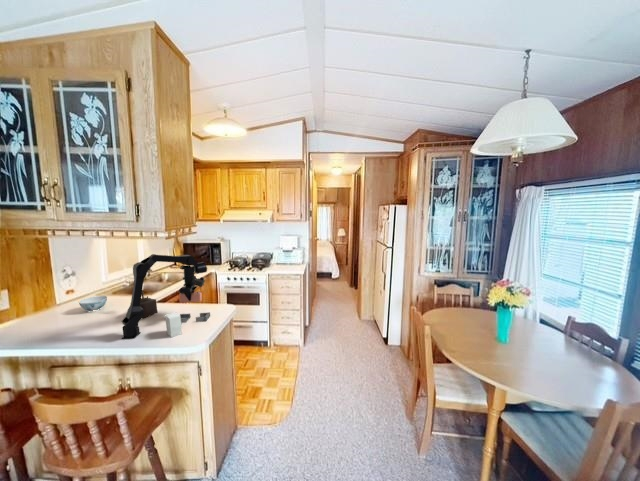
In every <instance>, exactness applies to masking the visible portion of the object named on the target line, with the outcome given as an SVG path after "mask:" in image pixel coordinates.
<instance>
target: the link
mask: <svg viewBox="0 0 640 481" xmlns="http://www.w3.org/2000/svg"><path fill="white" fill-rule="evenodd" d="M178 296H179V297H178V298H179V303H180V304H183V303H200V302H201V301H202V300H203V295H202V292H200V291H195V292H194V293H192V294H191V301H189V300H188V299H187V297H186V296H185V294H184V293H179V295H178Z"/></svg>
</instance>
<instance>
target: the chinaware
mask: <svg viewBox="0 0 640 481" xmlns="http://www.w3.org/2000/svg"><path fill="white" fill-rule="evenodd" d="M107 301H108V296H106V295H98V296H97V295H96V296H91V297H86V298H84V299H80V300H79V301H78V303H79V304H78V305H79V306H80V307H81V308H82V309H83V310H84V311H85V310H86V311H87V312H88V311H93V310H98V309H100V308H101V309H102V308H103V307H104V306H105V305H106V303H107ZM101 309H100V310H101ZM98 311H99V310H98Z"/></svg>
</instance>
